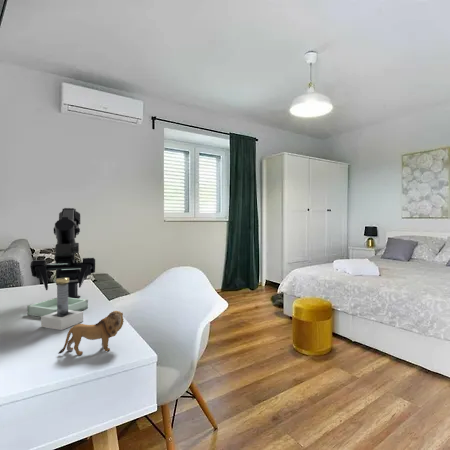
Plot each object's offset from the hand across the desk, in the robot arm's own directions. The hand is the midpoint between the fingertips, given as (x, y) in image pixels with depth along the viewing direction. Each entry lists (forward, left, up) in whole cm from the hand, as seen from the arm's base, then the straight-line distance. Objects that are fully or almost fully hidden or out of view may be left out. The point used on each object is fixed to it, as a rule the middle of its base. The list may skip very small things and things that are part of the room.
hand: (63, 288), depth 93 cm
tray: (-7, -10, -10) cm, 16 cm away
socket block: (+2, +2, -10) cm, 11 cm away
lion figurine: (+13, +25, -11) cm, 30 cm away
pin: (+2, +2, -10) cm, 11 cm away
